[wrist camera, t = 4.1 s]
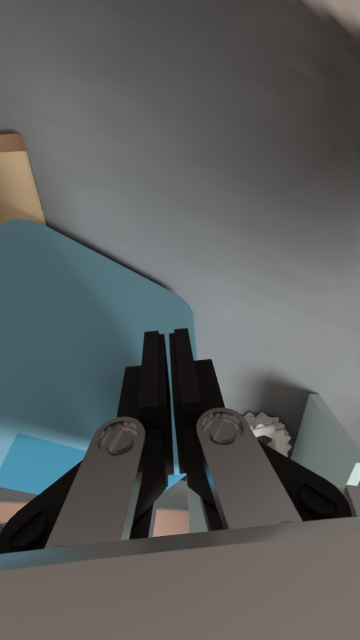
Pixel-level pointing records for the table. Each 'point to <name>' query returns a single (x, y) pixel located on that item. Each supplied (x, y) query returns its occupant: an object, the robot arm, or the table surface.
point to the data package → (69, 348)
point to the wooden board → (17, 182)
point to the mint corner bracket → (301, 450)
